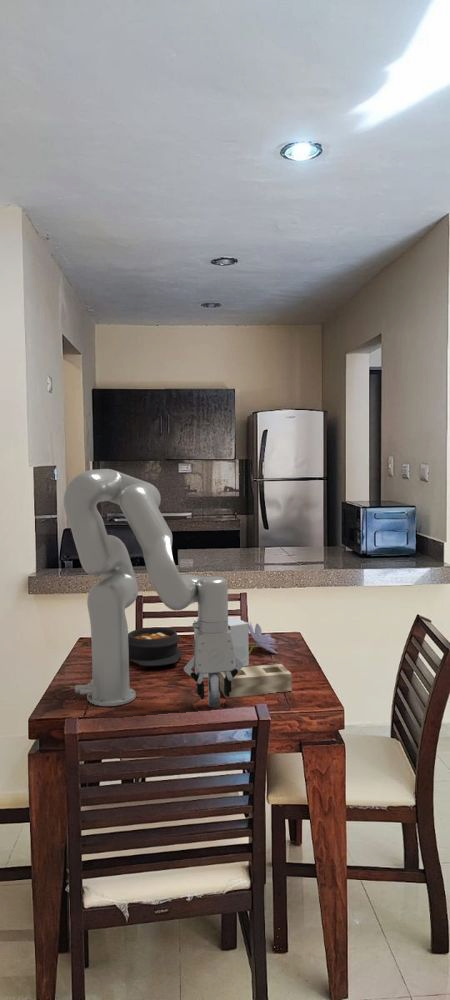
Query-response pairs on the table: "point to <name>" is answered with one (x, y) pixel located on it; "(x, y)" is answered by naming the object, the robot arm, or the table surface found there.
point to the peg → (214, 690)
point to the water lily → (261, 639)
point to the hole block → (258, 681)
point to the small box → (240, 639)
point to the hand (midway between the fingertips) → (214, 695)
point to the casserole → (153, 646)
